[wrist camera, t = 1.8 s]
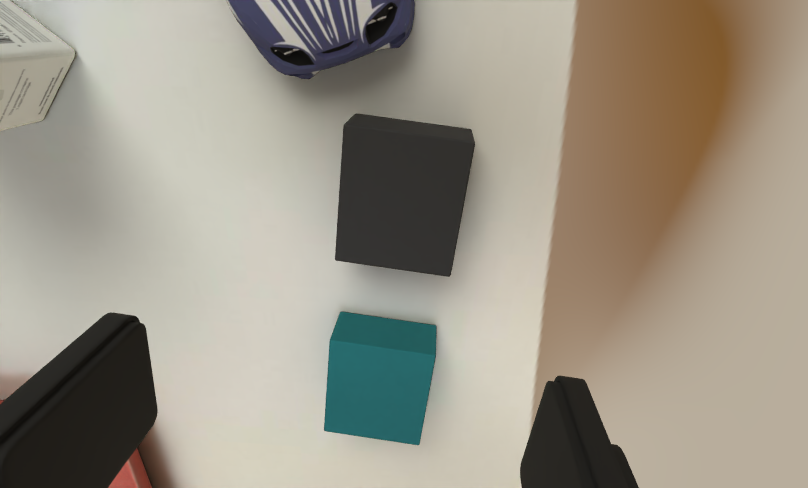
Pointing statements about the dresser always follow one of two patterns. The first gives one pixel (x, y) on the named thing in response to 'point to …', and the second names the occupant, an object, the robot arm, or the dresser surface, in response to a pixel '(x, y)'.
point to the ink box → (28, 67)
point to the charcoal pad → (402, 193)
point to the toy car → (322, 30)
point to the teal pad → (379, 377)
